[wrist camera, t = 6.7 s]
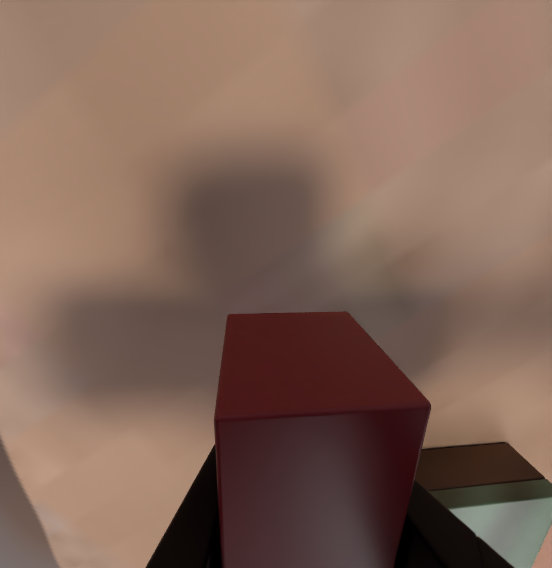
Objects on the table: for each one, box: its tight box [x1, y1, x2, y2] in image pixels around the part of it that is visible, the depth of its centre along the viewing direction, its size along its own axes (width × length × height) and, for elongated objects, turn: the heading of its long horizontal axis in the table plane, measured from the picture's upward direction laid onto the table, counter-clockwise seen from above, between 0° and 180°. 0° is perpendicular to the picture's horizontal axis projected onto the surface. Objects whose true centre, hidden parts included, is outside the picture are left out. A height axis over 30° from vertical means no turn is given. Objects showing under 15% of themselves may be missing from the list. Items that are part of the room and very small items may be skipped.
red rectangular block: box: [214, 312, 431, 568], centre depth 7 cm, size 4×8×4 cm, turn 179°
